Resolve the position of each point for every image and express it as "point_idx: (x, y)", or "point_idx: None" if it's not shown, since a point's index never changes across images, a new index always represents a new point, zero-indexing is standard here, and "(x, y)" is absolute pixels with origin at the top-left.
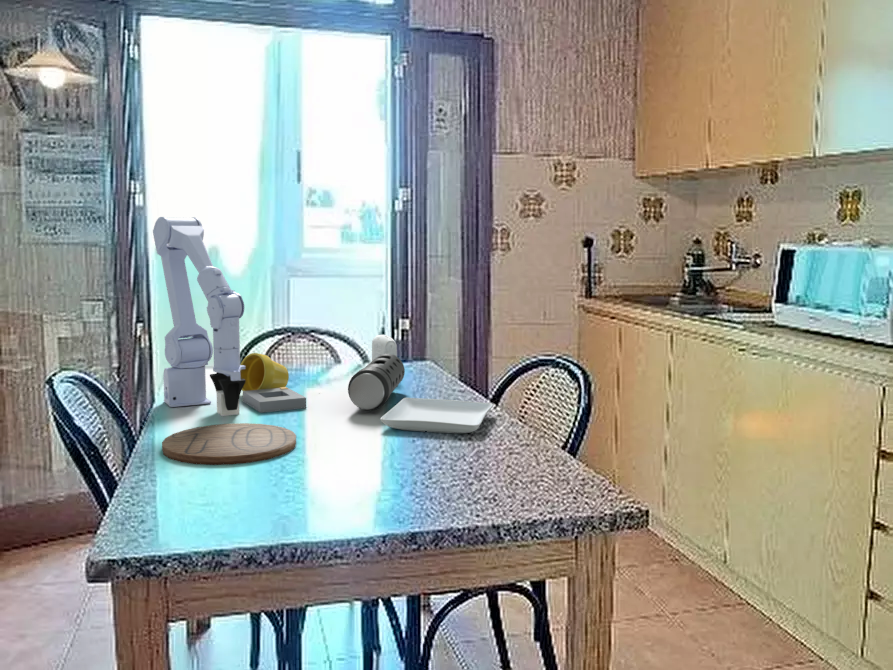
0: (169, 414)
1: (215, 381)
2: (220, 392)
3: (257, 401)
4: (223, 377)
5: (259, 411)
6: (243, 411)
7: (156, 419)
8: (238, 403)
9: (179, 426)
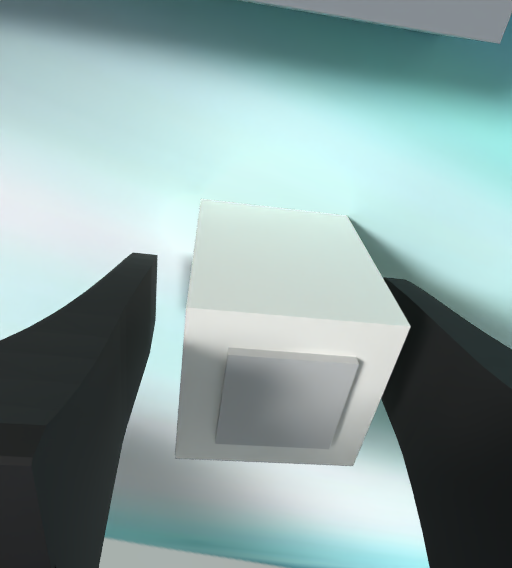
0: (110, 503)
1: (100, 552)
2: (271, 451)
3: (389, 24)
4: (81, 542)
5: (419, 31)
6: (276, 147)
7: (191, 548)
8: (368, 264)
9: (386, 517)
